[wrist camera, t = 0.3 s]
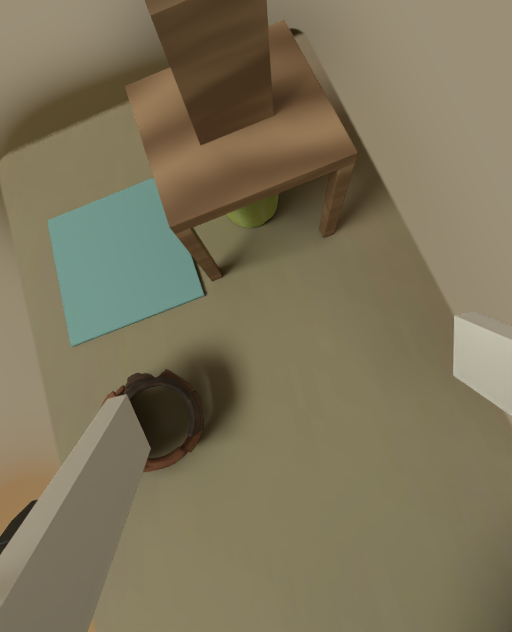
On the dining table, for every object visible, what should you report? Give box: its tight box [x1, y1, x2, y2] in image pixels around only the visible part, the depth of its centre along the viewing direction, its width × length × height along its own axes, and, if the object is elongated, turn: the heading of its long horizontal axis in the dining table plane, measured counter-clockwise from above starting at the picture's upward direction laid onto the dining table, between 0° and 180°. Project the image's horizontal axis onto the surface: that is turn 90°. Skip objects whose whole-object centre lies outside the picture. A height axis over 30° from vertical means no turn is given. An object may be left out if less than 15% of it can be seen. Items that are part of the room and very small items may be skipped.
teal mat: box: [47, 178, 205, 347], centre depth 34 cm, size 17×16×1 cm
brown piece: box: [125, 0, 358, 281], centre depth 24 cm, size 14×14×20 cm
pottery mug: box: [100, 369, 204, 472], centre depth 26 cm, size 12×10×8 cm
